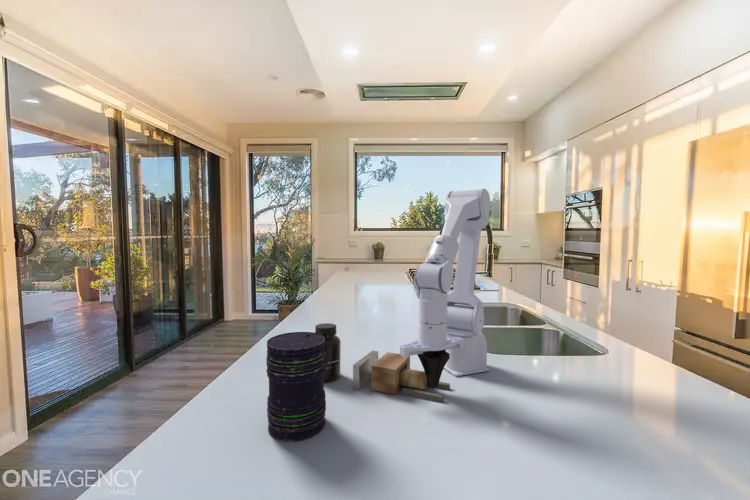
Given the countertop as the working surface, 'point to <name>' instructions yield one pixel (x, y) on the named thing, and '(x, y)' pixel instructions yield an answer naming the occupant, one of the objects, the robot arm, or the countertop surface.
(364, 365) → the steel backstop wall
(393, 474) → the countertop surface
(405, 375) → the oak dowel
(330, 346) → the supplement bottle
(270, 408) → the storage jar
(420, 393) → the guide rails
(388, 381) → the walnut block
